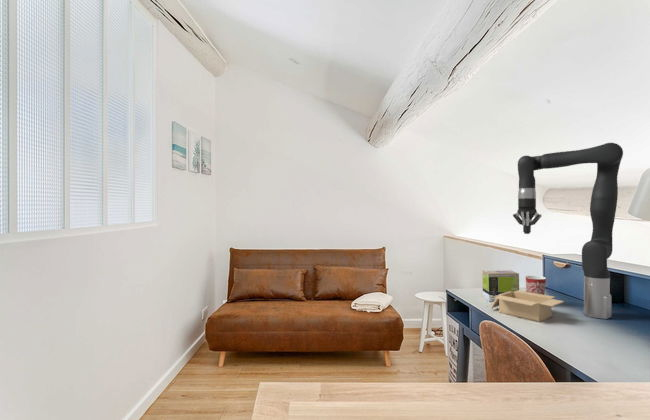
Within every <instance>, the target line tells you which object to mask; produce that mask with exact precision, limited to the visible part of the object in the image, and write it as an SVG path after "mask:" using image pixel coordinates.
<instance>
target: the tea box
mask: <svg viewBox="0 0 650 420" xmlns="http://www.w3.org/2000/svg"><path fill="white" fill-rule="evenodd" d="M518 290H519V291H520V274H519V272H516V271H514V270H512V269H511V270H510V269H509V270H508V269H507V270H506V269H504V270H503V269H502V270H500V269H499V270H498V269H497V270H495V269H493V270H492V269H490V270H488V269H487V270H482V297H483V299H485V300H486V301H487V302H489V303H490V302H491V303H494V301H495V299H496V298H495V297H497V296H498V295H499V294H502V293H505V292H509V291H511V292H512V291H513V292H515V291H518Z"/></svg>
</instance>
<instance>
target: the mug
mask: <svg viewBox="0 0 650 420" xmlns="http://www.w3.org/2000/svg"><path fill="white" fill-rule="evenodd" d="M546 281H547V277H545V276H541V275H525V292H531V293H536V294H542V295H546Z"/></svg>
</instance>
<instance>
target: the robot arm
mask: <svg viewBox="0 0 650 420" xmlns="http://www.w3.org/2000/svg"><path fill="white" fill-rule="evenodd" d="M623 156H624V150H623V147H622V146H621V145H619V144H618V143H615V142H607V143H603V144H599V145H596V146H593V147H587V148H583V149H576V150H568V151H567V150H566V151H555V152H548V153H543V154H542V155H535V156H530V155H523V156H521V157H520V158H519V159H518V161H517V174H518V191H517V192H518V194H517V202H518V203H517V208H518V209H517V210H516V211H517V212H516V213H515V214H514V213H513V214H512V216H513V218H514V219H515V221H516V222H517V223H518V224H519V225H521V226H523V227H522V229H523V231H522V232H523V233H524V235H530V233H531V232H532V230H531V229H532V226H533V225H536V224H537V223H538V221H539V220H540V219H541V218H542V214H541V213H540V214H539V213H538V211H537V192H536V176H535V175H534V174H535V171H538V170H539V171H540V170H543V169H547V170H548V169H556V168H563V167H570V166H575V165H576V166H577V165H581V164H582V165H583V164H596V165H597V166H596V169H597V170H596V179H595V180H594V184H593V187H592V192H591V195H590V204H589V205H590V206H589V213H590V219H591V223H592V233H591V239H590V240H589V241H587V242H585V243H584V244H583V245H582V247H581V268H582V270H583V271H582V272H583V314H584V315H585V316H586V317H591V318H595V319H604V320H608V319H609V318H611V317H612V294H611V292H610V291H611V290H610V288H611V287H610V286H611V285H610V284H611V272H610V271H609V269H608V259H609V258H610V257H611V256H612V254H613V230H614V225H615V224H614V223H615V218H616V213H617V206H618V196H619V195H618V193H619V191H618V190H619V188H618V184H619V183H618V177H619V176H618V175H619V171H620V170H619V169H620V165H621V161H622V159H623Z"/></svg>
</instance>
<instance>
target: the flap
mask: <svg viewBox="0 0 650 420" xmlns="http://www.w3.org/2000/svg"><path fill="white" fill-rule="evenodd" d="M509 292H511V291H509ZM509 292H505V293H509ZM505 293H502V294H505ZM502 294H499V295H502ZM499 295H498V296H499ZM497 307H499V299H495V301H494V302H492V305H490V309H493V308H497Z"/></svg>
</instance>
